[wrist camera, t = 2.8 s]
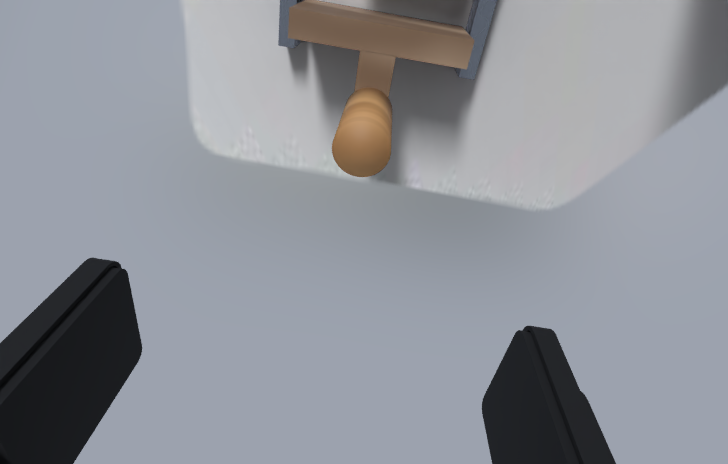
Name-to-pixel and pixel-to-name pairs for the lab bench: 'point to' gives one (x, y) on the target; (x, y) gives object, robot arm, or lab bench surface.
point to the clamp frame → (475, 28)
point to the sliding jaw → (374, 69)
